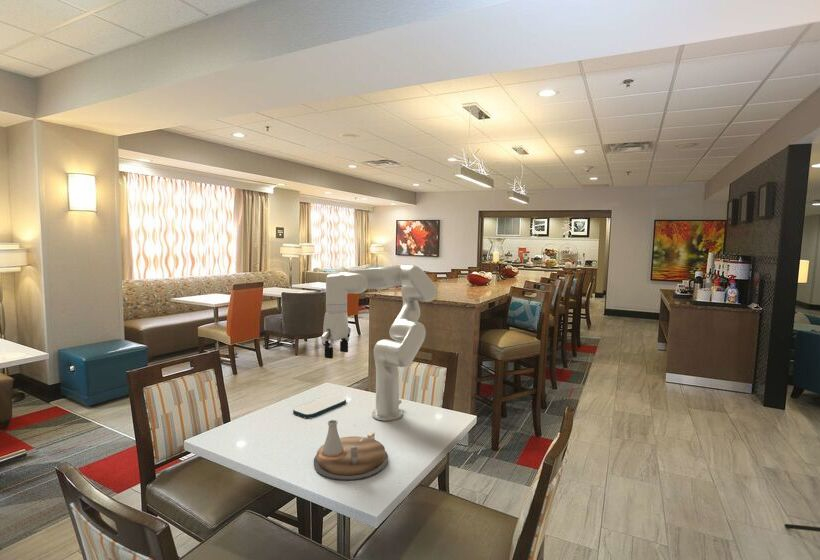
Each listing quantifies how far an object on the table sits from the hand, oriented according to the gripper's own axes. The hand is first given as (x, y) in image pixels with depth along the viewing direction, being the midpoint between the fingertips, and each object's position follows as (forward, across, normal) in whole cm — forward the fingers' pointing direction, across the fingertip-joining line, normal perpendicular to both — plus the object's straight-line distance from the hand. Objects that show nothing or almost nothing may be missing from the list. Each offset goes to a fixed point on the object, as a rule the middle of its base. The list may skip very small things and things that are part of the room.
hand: (336, 354), depth 157 cm
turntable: (+29, +14, +15) cm, 36 cm away
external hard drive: (+31, -20, -22) cm, 43 cm away
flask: (+27, +17, +10) cm, 33 cm away
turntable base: (+30, +13, +15) cm, 36 cm away
